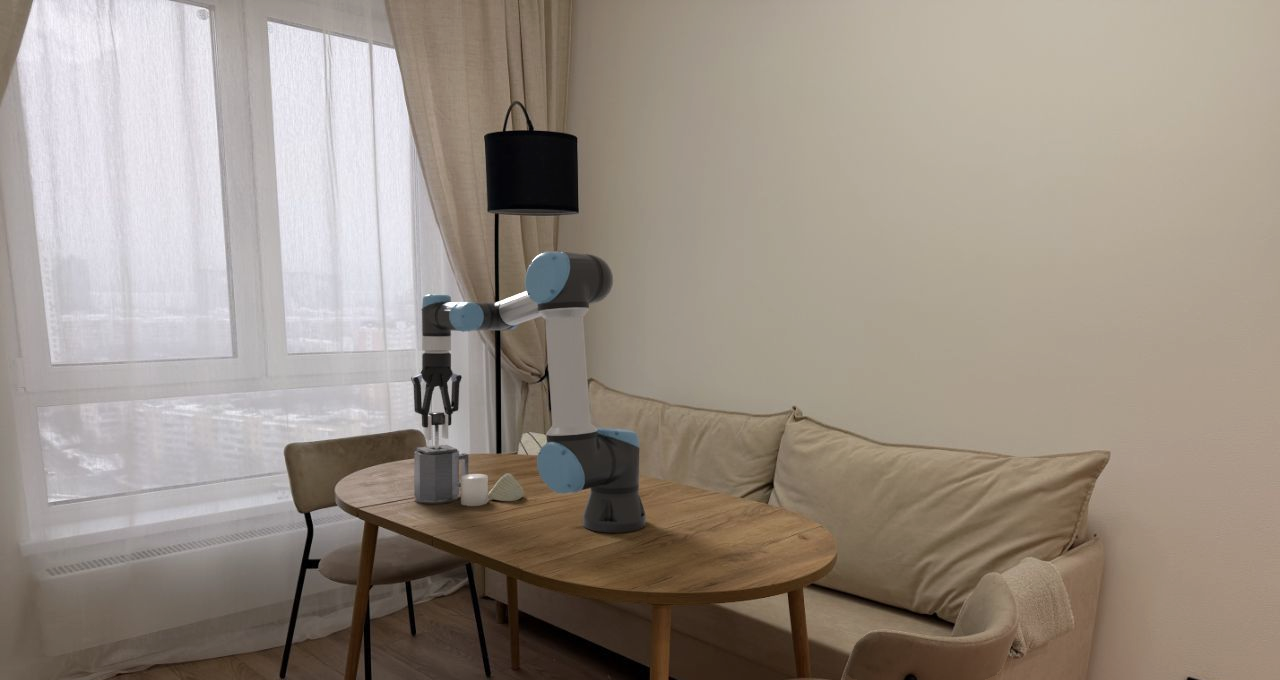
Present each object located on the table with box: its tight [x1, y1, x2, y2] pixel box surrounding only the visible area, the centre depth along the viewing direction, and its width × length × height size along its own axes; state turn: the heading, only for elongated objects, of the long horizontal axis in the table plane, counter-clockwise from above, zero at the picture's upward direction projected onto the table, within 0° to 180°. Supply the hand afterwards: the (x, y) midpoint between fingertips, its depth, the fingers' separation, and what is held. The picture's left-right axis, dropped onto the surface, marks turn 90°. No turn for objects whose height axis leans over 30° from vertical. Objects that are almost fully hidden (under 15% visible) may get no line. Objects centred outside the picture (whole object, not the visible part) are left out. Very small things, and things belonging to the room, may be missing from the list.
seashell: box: [488, 473, 525, 502], centre depth 209 cm, size 8×8×8 cm
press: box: [413, 444, 469, 505], centre depth 208 cm, size 11×14×14 cm
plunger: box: [428, 411, 445, 455], centre depth 207 cm, size 8×8×19 cm
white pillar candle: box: [460, 473, 489, 507], centre depth 204 cm, size 7×7×7 cm
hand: (436, 438), depth 207 cm, fingers closed on plunger, 4 cm apart
